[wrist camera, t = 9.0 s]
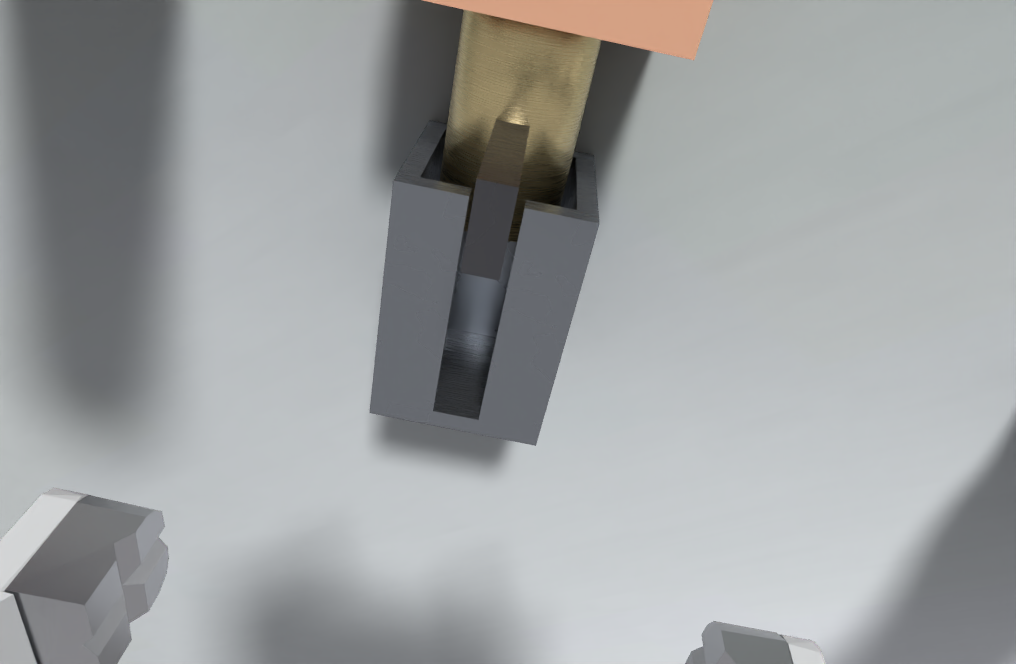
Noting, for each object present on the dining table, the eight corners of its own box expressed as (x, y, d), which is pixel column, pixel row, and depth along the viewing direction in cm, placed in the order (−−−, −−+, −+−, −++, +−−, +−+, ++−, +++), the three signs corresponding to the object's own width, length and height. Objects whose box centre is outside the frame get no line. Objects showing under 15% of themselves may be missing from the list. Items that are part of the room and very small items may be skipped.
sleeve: (593, 155, 31) (599, 223, 24) (541, 350, 36) (535, 445, 30) (429, 120, 30) (393, 180, 24) (404, 322, 36) (369, 412, 30)
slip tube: (633, -114, 24) (671, -115, 15) (556, 202, 31) (550, 334, 22) (493, -146, 24) (446, -166, 15) (446, 178, 30) (393, 302, 21)
